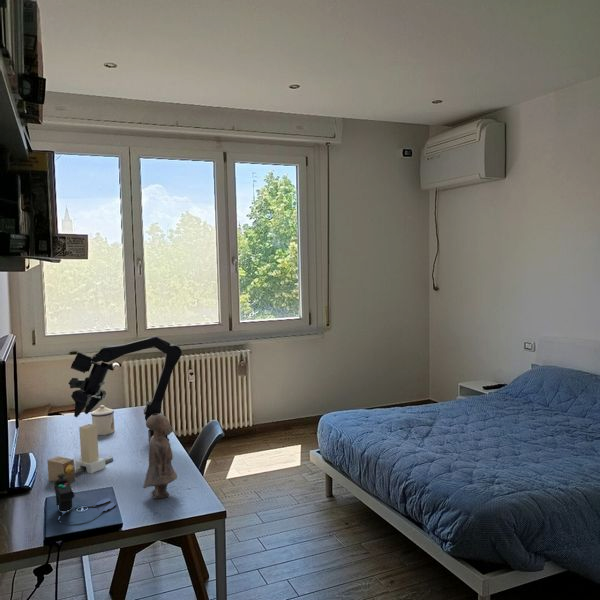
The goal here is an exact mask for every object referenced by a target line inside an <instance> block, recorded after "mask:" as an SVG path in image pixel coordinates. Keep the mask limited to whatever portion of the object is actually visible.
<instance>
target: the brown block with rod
mask: <svg viewBox="0 0 600 600" xmlns="http://www.w3.org/2000/svg"><path fill="white" fill-rule="evenodd" d="M104 459H105V465H106V464H108V463H111V462H113V461H114V457H112V456H107V457H105V458H104ZM47 473H48V476H47V477H48V481H49V482H52V483H54V481H56V480H58V479H59V477H57V475H58V474H65V476H64V478H66V479H68V480H69V481H70V483H73V482H75V481H76V477H77V476H79V475H82V474H86V473H87V470H86V466H85V467H82V468H80V469H77V470H76V469H75V460H74V459H71V458H68V457H63V456H58V455H57V456H55V457H52V458H50V459H47Z"/></svg>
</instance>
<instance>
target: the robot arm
mask: <svg viewBox="0 0 600 600" xmlns="http://www.w3.org/2000/svg"><path fill="white" fill-rule="evenodd" d="M151 348H155V349H157V350H159V351H161V352H162V353H164V363H163V367H162V369H161V373H160V376H159V379H158V381H157V385H156V388H155V391H154V394H153V396H152V399H151V400H150V401H148V400H147V401H146V403H145V407H144V409H143V415H144V420H145V422H146V421H147V419H148V418H149V417H150V416H151V415H153V414H157V413H159V414H162V413H161V412H162V404H163V400H164V397H165V394H166V392H167V388H168V385H169V382H170V379H171V377H172V373H173V370H174V369H175V367H176V365H177V364H178V362H179V361H180V358H181V357H182V354H183V353H182V352H183V350H182V349H181V348H180V346H179V345H178V344H176V343H170V342H168V341H166V340H164V339H162V338H160V337H159V336H157V335H152V336H150V337H147V338H143V339H139V340H134V341H132V342H128V343H122V344H111V345H110V344H108V345H103V346H102V347H101V348H100V349H99V351H98V352H96V353H95V354H93V355H92V356H90V355H87V354H86V353H85V354H84V353H82V352H81V351H78V352H77V354H76V356H75V358H74V359H73V361H72V363H71V365H70V369H71V370H75V371H77V372H80V373H83V374H85V373H89V372H90V373H89V375H88V376H86V377H84V378H83V379H80V378H78V377H72V378H71V379H70V380H69V382H68V385H69V389H77V390H73V391H72V393H71V396H70V397H71V398H72V400H73V401H74V404H75V405H74V415H73V417H75V418H78V417H79V416H80V415H81V413H82V412H83V411H84V414H85V415H88V414H89V413H90V412H91V411H92V410H93V409H94V408H95V407H96V406H97V405H98V404H99V403H100V402H102V401H103V399H105V398H106V395H107V392H106V390H104V389H102V386H103V385H105V383H106V382H105V379H106V376H107V374H108V371H112V372H113V371H114V369H115V367H114V366H113V362H112V361H115V360H117V359H118V358H121V357H122V356H124V355H126V354H127V355H128V354H131V353H135V352H136V353H137V352H139V351H143V350H146V349H151ZM92 365H93V366H92ZM91 368H92V369H91ZM90 369H91V370H90ZM147 433H148V434H147V436H148V438H147V439H148V441H149V442H150V439H151V437H152V436H153V435H154V431H153V430H151V429H149V428H148V431H147ZM168 436H169V435H165V436H164V437H165V438H166V439H167V440H168V441H170V438H168Z"/></svg>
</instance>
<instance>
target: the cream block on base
mask: <svg viewBox="0 0 600 600" xmlns="http://www.w3.org/2000/svg"><path fill="white" fill-rule="evenodd" d="M78 428H79V429H78V430H79V431H78V432H79V441H80V442H79V443H80V459H78V460H74V466H75V470H77V469H80V468H82V467H85V466H86V470H87V472H86V473H88V474H94V473H96V472H98V471H101V470H103V469H106V464H105V458H103V457H102V458H101V457H100V455H99V445H98V443H99V441H98V439H99V438H98V435H97V425H92V423H91V424H90V423H89V424H88V423H87V424H85V425H82V426H79V427H78Z"/></svg>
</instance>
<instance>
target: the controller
mask: <svg viewBox="0 0 600 600" xmlns="http://www.w3.org/2000/svg"><path fill="white" fill-rule="evenodd" d="M64 476H65V474H58V475H57V477H59V479H58V480H56V481H54V482H53V488H54V492H55V501H56V506H57V505H59V510H60V511H67V510H70V509H71V508H72V509H73V499H74V497H75V493H74V491H73V489H72V487H71V485H72V482H70V481H69V480H68V479H66V478H64Z"/></svg>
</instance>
